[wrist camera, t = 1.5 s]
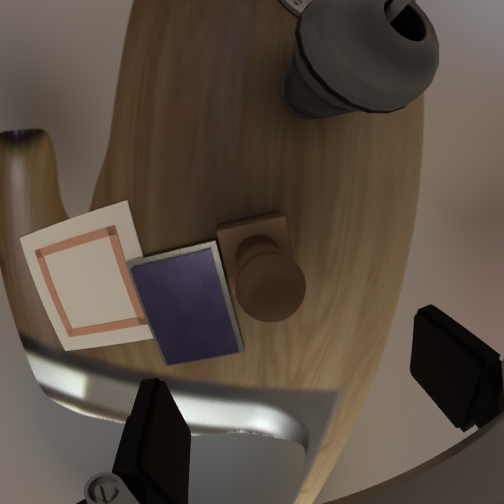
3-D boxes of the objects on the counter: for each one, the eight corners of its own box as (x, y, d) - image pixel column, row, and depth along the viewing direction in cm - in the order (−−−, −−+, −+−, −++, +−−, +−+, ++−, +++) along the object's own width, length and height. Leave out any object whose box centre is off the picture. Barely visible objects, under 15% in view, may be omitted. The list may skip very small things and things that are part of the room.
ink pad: (128, 259, 25) (123, 264, 23) (215, 237, 25) (215, 242, 23) (167, 360, 28) (164, 369, 26) (244, 345, 28) (245, 355, 26)
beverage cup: (295, 150, 24) (496, 122, 4) (245, 81, 22) (310, -108, 2) (359, 111, 23) (560, 63, 4) (314, 45, 21) (451, -92, 2)
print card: (21, 237, 23) (18, 238, 22) (128, 199, 23) (126, 200, 23) (66, 349, 27) (64, 351, 26) (171, 333, 27) (170, 336, 26)
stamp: (217, 224, 25) (213, 266, 14) (278, 210, 25) (318, 241, 14) (231, 281, 26) (238, 353, 16) (288, 267, 26) (329, 330, 16)
